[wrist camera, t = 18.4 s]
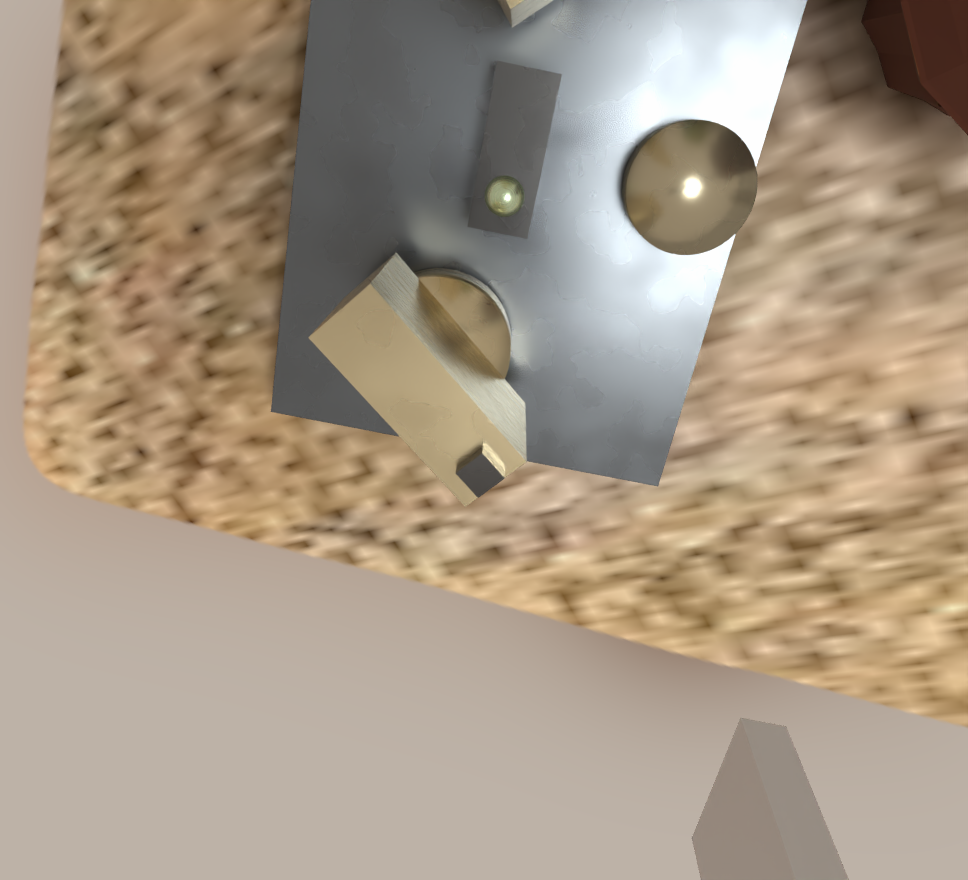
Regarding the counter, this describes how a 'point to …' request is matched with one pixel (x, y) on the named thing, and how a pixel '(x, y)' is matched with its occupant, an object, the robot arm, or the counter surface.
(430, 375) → the knob
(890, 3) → the muffin
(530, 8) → the knob
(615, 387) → the levelling plate
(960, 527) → the counter surface
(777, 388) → the counter surface
